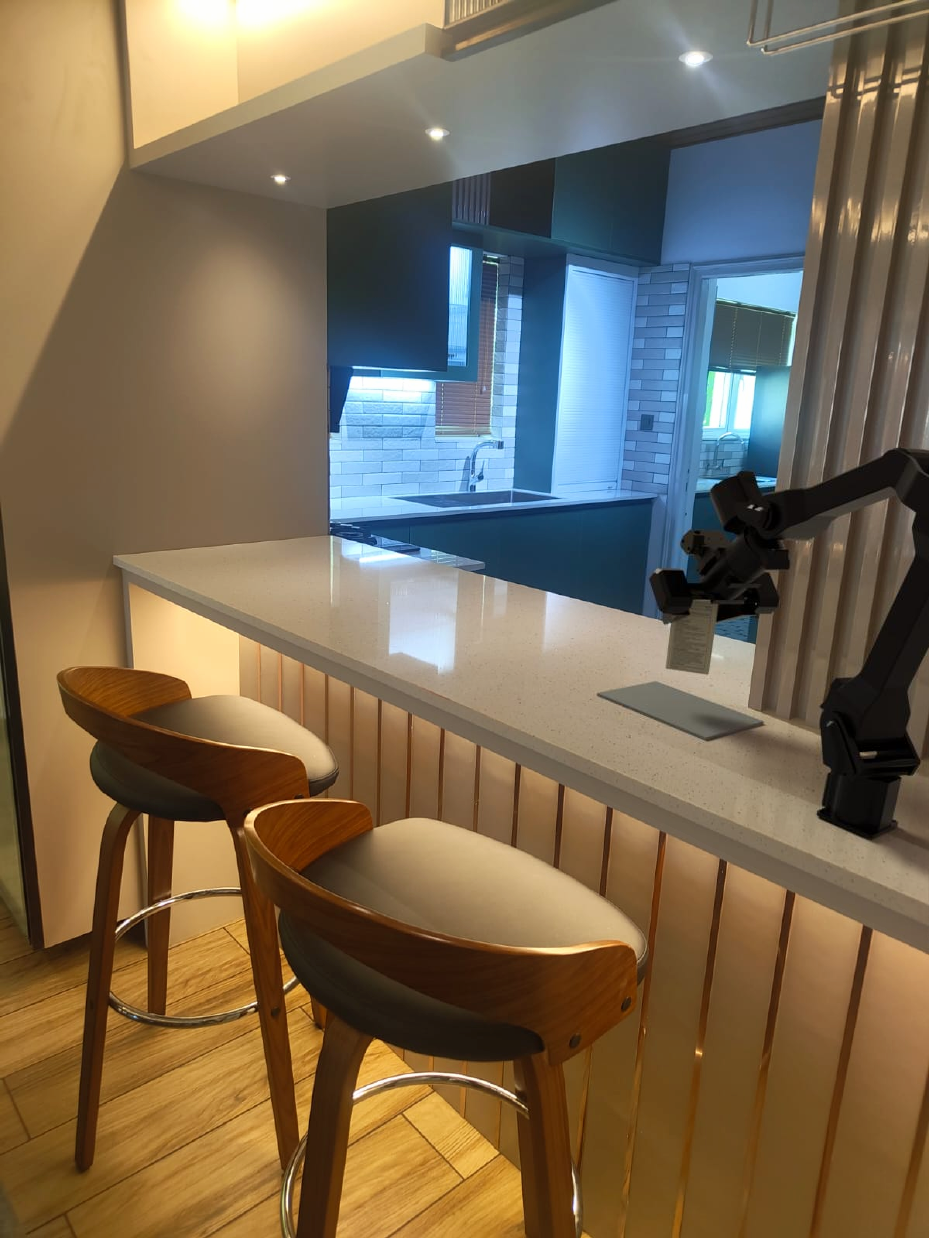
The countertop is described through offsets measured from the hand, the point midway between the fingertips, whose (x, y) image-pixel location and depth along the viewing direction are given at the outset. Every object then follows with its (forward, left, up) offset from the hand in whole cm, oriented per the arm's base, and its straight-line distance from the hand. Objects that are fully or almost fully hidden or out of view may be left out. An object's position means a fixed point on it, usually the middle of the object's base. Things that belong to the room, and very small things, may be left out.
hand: (685, 621), depth 128 cm
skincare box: (-2, +1, -7) cm, 7 cm away
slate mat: (-1, 0, -13) cm, 13 cm away
